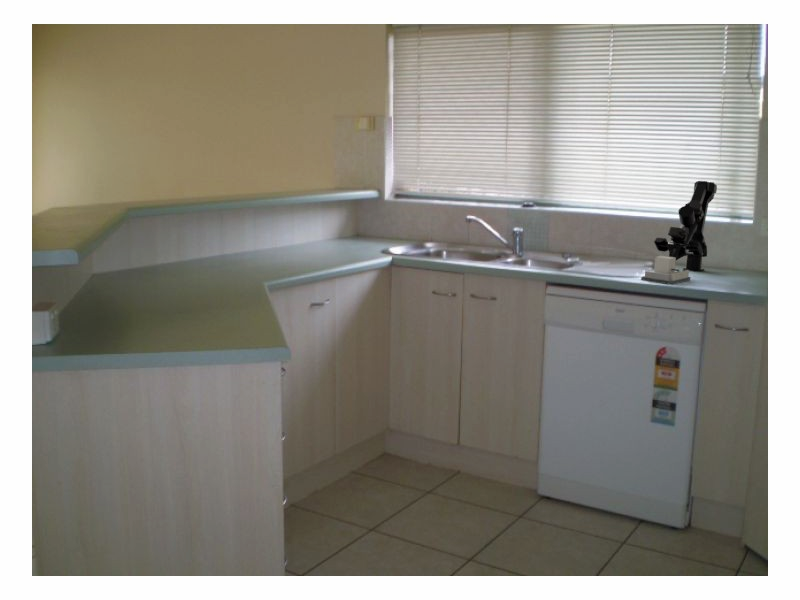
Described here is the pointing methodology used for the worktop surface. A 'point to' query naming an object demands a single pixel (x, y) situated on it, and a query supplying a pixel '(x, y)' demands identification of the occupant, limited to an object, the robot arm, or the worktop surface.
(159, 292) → the worktop surface
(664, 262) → the gauge carriage
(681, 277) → the gauge base
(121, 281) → the worktop surface
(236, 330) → the worktop surface
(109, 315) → the worktop surface
